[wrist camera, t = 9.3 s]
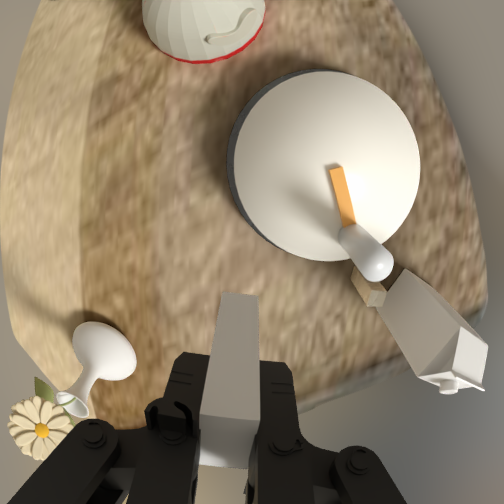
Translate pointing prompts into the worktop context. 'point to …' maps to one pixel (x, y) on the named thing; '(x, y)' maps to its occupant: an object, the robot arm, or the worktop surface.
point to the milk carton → (433, 335)
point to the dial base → (367, 289)
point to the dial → (328, 169)
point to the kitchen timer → (202, 27)
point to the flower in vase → (70, 390)
